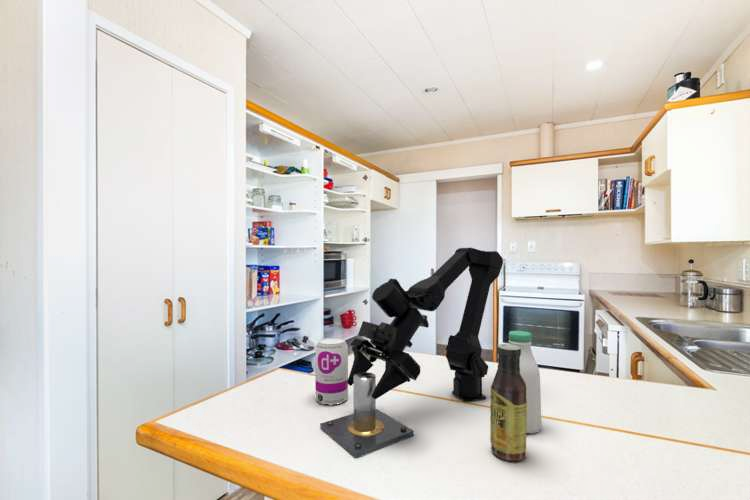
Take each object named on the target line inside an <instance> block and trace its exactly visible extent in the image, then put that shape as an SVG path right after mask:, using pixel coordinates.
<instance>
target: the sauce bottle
mask: <svg viewBox="0 0 750 500" xmlns="http://www.w3.org/2000/svg"><path fill="white" fill-rule="evenodd" d="M496 349H497V350H496V352H497V355H498V356H497V369H496V372H495V374H494V378H493V381H492V383H491V385H490V411H489V412H490V416H489V417H490V420H489V421H490V425H489V426H490V428H489V429H490V431H489V432H490V437H489V440H490V446H491V447H490V449H491V452H492V453H493V454H494V455H495V456H497V457H498V458H500V459H501V460H503V461H508V462H509V461H510V462H518V461H522V460H523V459H525V457H526V455H527V453H526V451H527V434H526V428H527V400H526V384H525V382H524V380H523V378H522V376H521V375H520V355H521V348H520V347H519V346H517V345H512V344H510V343H501V344H498V345H497V348H496Z"/></svg>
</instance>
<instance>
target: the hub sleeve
mask: <svg viewBox="0 0 750 500" xmlns="http://www.w3.org/2000/svg"><path fill="white" fill-rule="evenodd" d="M376 377H377V375H376V374H374V373H373V372H368V371H367V372H362V373H357V374H355V375H354V384H353V394H352V395H353V399H352V400H353V409H352V410H353V412H352V414H353V428H354V429H355V430H356V431H358V432H370V431H373V430H374V429H375V428H376V409H377V408H376V407H377V406H376V405H377V402H376V400H377V399H374V398H372V393H373V391H374V389H375V387H376V386H377V384H376V382H377V379H376Z"/></svg>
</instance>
